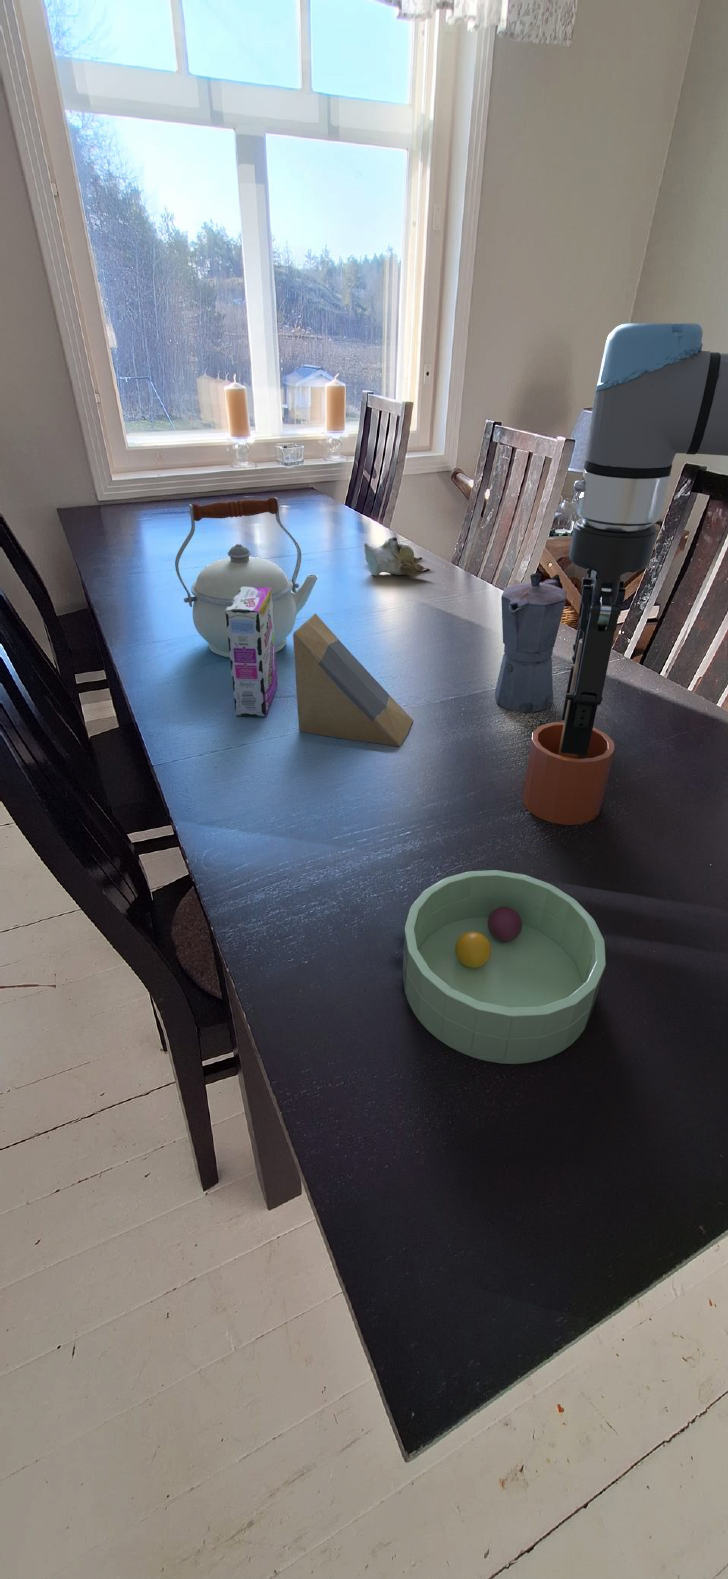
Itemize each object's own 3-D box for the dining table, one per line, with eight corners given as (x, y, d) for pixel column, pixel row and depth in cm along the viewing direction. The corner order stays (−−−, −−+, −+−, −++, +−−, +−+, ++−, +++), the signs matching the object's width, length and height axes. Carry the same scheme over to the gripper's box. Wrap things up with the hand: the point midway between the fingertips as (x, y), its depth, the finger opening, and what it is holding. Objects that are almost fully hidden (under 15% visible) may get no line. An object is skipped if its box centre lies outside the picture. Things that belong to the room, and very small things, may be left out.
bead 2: (494, 951, 65) (499, 930, 67) (525, 944, 63) (530, 922, 66) (478, 925, 64) (484, 904, 67) (510, 917, 62) (515, 896, 65)
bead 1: (493, 926, 62) (496, 952, 64) (459, 921, 63) (463, 946, 65) (484, 952, 60) (487, 978, 61) (448, 946, 61) (452, 972, 63)
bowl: (589, 933, 67) (602, 886, 64) (594, 1084, 54) (609, 1036, 50) (420, 903, 70) (423, 858, 67) (385, 1039, 57) (386, 991, 54)
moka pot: (472, 709, 106) (485, 578, 95) (515, 674, 116) (531, 553, 105) (531, 726, 101) (552, 591, 90) (569, 689, 112) (592, 563, 101)
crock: (596, 797, 86) (612, 726, 81) (598, 840, 79) (616, 766, 73) (522, 787, 88) (533, 717, 82) (518, 829, 81) (530, 755, 75)
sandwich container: (400, 747, 96) (404, 645, 88) (297, 732, 100) (292, 632, 91) (414, 719, 103) (419, 622, 95) (317, 706, 107) (314, 611, 98)
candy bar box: (268, 718, 103) (259, 611, 94) (234, 717, 103) (222, 610, 94) (279, 685, 113) (272, 585, 103) (249, 684, 113) (239, 584, 104)
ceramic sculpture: (361, 530, 162) (424, 532, 164) (359, 567, 166) (420, 569, 168) (367, 542, 153) (433, 544, 155) (365, 581, 158) (429, 583, 160)
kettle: (200, 673, 116) (178, 517, 102) (178, 636, 130) (156, 494, 116) (337, 650, 125) (335, 503, 111) (303, 617, 139) (296, 483, 125)
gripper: (574, 497, 73) (542, 693, 86) (575, 545, 57) (535, 777, 70) (649, 501, 72) (605, 700, 85) (670, 551, 56) (612, 787, 69)
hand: (573, 735), depth 78 cm, fingers open, 7 cm apart
